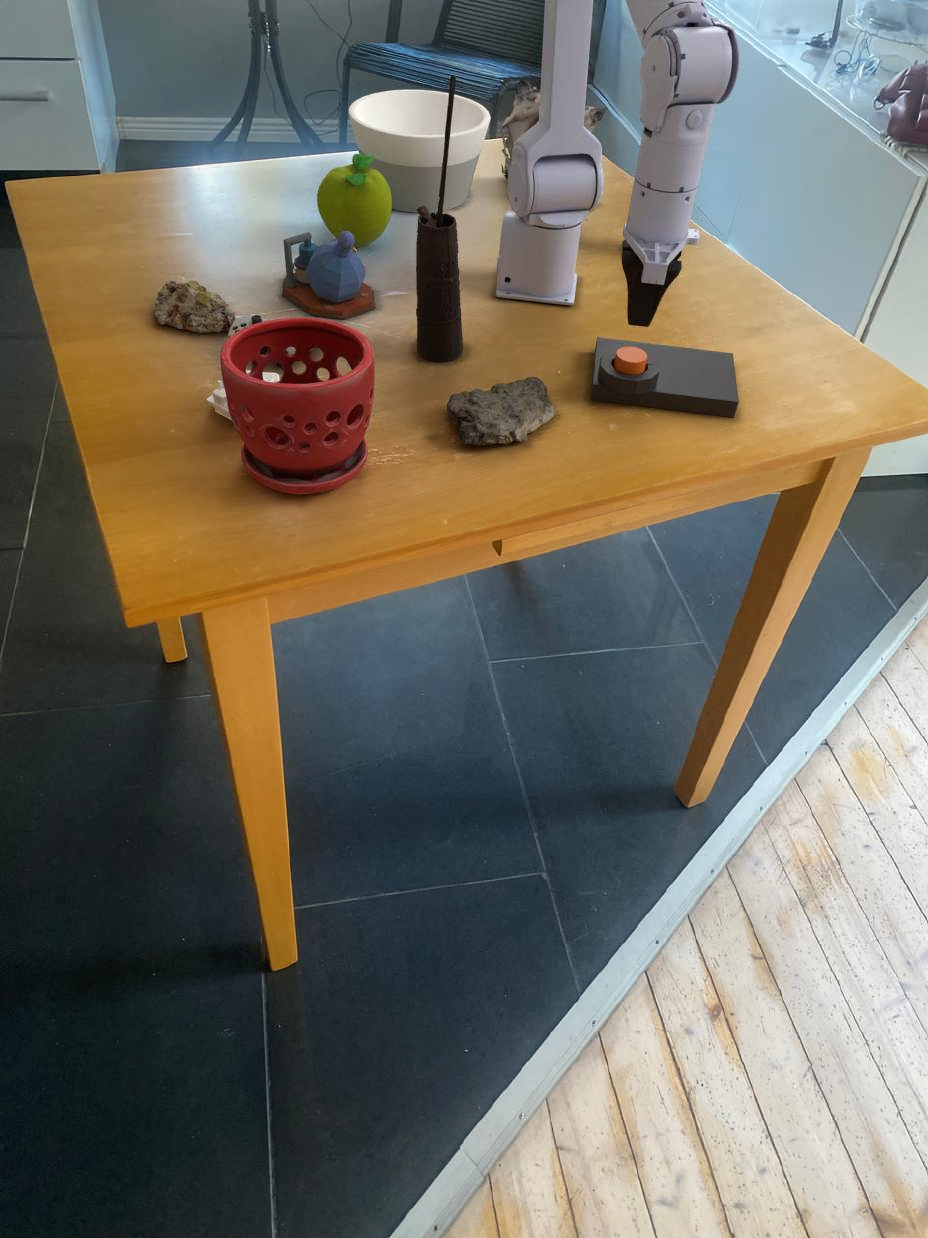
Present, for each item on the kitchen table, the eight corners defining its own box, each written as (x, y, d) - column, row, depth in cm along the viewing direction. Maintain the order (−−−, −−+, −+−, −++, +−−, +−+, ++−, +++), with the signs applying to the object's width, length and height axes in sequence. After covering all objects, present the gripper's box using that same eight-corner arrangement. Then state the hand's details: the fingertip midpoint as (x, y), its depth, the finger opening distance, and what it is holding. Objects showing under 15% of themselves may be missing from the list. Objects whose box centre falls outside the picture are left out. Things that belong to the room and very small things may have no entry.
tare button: (613, 373, 97) (615, 360, 96) (614, 358, 100) (616, 344, 99) (644, 377, 97) (647, 364, 96) (644, 361, 99) (647, 348, 98)
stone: (529, 385, 101) (532, 361, 99) (578, 426, 96) (582, 402, 94) (416, 422, 95) (416, 397, 93) (461, 468, 90) (463, 442, 88)
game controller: (325, 335, 104) (305, 316, 98) (312, 383, 104) (291, 367, 98) (246, 317, 106) (222, 298, 100) (233, 364, 106) (208, 347, 100)
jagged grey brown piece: (598, 203, 136) (613, 104, 127) (583, 212, 134) (597, 111, 125) (511, 175, 142) (520, 78, 133) (495, 183, 140) (502, 85, 130)
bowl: (334, 173, 139) (330, 93, 131) (456, 162, 145) (459, 84, 137) (375, 227, 127) (374, 142, 119) (506, 212, 132) (513, 130, 125)
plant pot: (402, 477, 88) (403, 362, 80) (275, 524, 83) (262, 405, 74) (332, 409, 96) (326, 297, 87) (211, 449, 90) (192, 333, 81)
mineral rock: (128, 297, 105) (179, 255, 108) (143, 327, 109) (191, 286, 112) (197, 332, 101) (248, 288, 104) (210, 362, 105) (258, 319, 108)
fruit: (398, 231, 126) (398, 152, 119) (381, 261, 120) (380, 179, 112) (331, 222, 127) (328, 143, 120) (311, 252, 120) (306, 170, 113)
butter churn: (378, 332, 107) (374, 53, 87) (457, 321, 110) (471, 48, 90) (404, 373, 101) (406, 84, 81) (487, 360, 104) (508, 77, 84)
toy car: (202, 414, 94) (195, 377, 91) (261, 382, 99) (257, 345, 96) (235, 432, 92) (230, 395, 89) (294, 399, 97) (291, 362, 94)
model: (390, 303, 112) (390, 224, 105) (327, 326, 107) (323, 246, 101) (329, 265, 118) (325, 189, 111) (266, 286, 113) (259, 208, 107)
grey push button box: (589, 405, 99) (594, 375, 96) (594, 352, 106) (599, 323, 104) (734, 423, 98) (743, 393, 95) (728, 368, 106) (736, 339, 103)
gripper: (714, 217, 80) (680, 362, 89) (707, 156, 90) (677, 292, 100) (630, 208, 80) (605, 353, 90) (633, 148, 90) (610, 284, 100)
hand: (638, 320), depth 95 cm, fingers closed
